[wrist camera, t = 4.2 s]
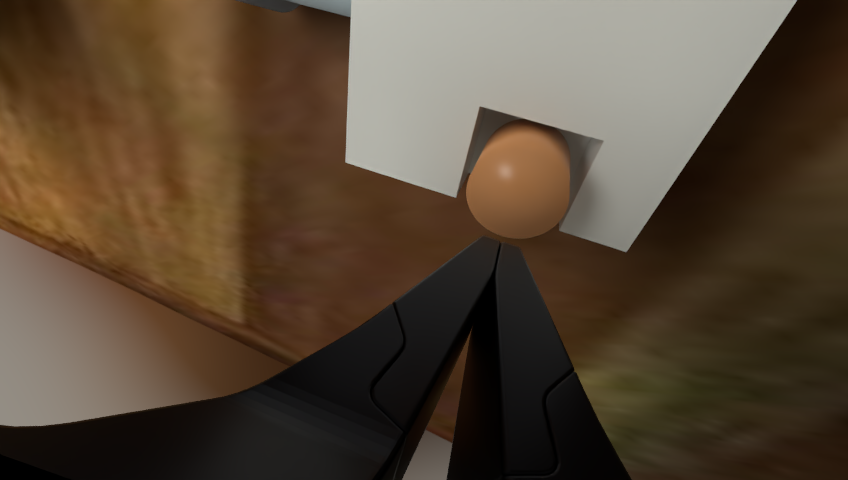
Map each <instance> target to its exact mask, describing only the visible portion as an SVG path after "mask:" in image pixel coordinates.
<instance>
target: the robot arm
mask: <svg viewBox="0 0 848 480" xmlns="http://www.w3.org/2000/svg"><path fill="white" fill-rule="evenodd" d="M472 326H473V327H472ZM471 329H472V331H471ZM470 331H471V335H470V340H469V346H468V352H467V358H466V364H465V370H464V376H463V382H462V389H461V395H460V401H459V407H458V413H457V419H456V425H455V431H454V437H453V443H452V450H451V456H450V462H449V468H448V474H447V480H632V479H631V478H630V476H629V474H628V472H627V471H626V469H625V467H624V465H623V464H622V462H621V460H620V458H619V457H618V455H617V453H616V451H615V449H614V448H613V446H612V444H611V442H610V440H609V438H608V437H607V435H606V433H605V431H604V429H603V427H602V425H601V424H600V422H599V420H598V418H597V416H596V414H595V412H594V410H593V408H592V406H591V403H590V401H589V399H588V397H587V395H586V393H585V391H584V389H583V387H582V384H581V382H580V380H579V378H578V376H577V373H576V372H573V371H574V367H573V365H572V363H571V360H570V358H569V356H568V354H567V351H566V349H565V347H564V345H563V343H562V340H561V338H560V336H559V334H558V331H557V329H556V327H555V325H554V322H553V320H552V318H551V316H550V314H549V311H548V309H547V307H546V305H545V302H544V300H543V298H542V296H541V294H540V291H539V289H538V287H537V285H536V282H535V280H534V278H533V276H532V274H531V271H530V269H529V267H528V265H527V262H526V260H525V258H524V256H523V253H522V251H521V249H520V248H519V247H518V246H516V245H513V244H509V243H506V242H501V243H500V241H499V240H497V239H494V238H491V237H488V236H485V235H483V236H481V237H480V238H478V239H477V240H476V241H474V242H473V243H472V244H470V245H469V246H468V247H466V248H465V249H464V250H462V251H461V252H460V253H458V254H457V255H456V256H454V257H453V258H452V259H450V260H449V261H448V262H446V263H445V264H444V265H442V266H441V267H440V268H438V269H437V270H436V271H434V272H433V273H432V274H430V275H429V276H428V277H426V278H425V279H424V280H422V281H421V282H420V283H418V284H417V285H416V286H414V287H413V288H412V289H410V290H409V291H408V292H406V293H405V294H403V295H402V296H401V297H399V298H398V299H397V300H395V301H394V302H393V303H392V304H390V305H389V306H387V307H386V308H385V309H383V310H382V311H381V312H379V313H378V314H377V315H375V316H374V317H372V318H371V319H369V320H368V321H366V322H365V323H364V324H362V325H361V326H359V327H358V328H356V329H355V330H353V331H351V332H349V333H348V334H346V335H344V336H343V337H341V338H339V339H338V340H336V341H334V342H333V343H331V344H329V345H327V346H326V347H324V348H322V349H320V350H319V351H317V352H315V353H313V354H312V355H310V356H308V357H306V358H304V359H303V360H301V361H299V362H297V363H296V364H294V365H292V366H290V367H288V368H287V369H285V370H283V371H282V372H280V373H278V374H276V375H274V376H273V377H271V378H269V379H267V380H265V381H264V382H261V383H259V384H257V385H255V386H253V387H250V388H248V389H245V390H243V391H240V392H238V393H234V394H231V395H228V396H224V397H219V398H213V399H207V400H201V401H195V402H189V403H184V404H178V405H172V406H166V407H160V408H154V409H148V410H143V411H136V412H130V413H125V414H118V415H112V416H106V417H100V418H95V419H89V420H83V421H77V422H71V423H63V424H55V425H46V426H19V427H14V426H4V425H0V480H402V478H403V476H404V474H405V472H406V470H407V468H408V466H409V463H410V461H411V459H412V457H413V455H414V453H415V451H416V448H417V446H418V444H419V442H420V440H421V438H422V435H423V433H424V431H425V429H426V427H427V425H428V423H429V420H430V418H431V416H432V414H433V412H434V410H435V407H436V405H437V403H438V401H439V399H440V397H441V395H442V392H443V390H444V388H445V386H446V384H447V382H448V379H449V377H450V375H451V373H452V371H453V369H454V367H455V364H456V362H457V360H458V358H459V356H460V354H461V351H462V349H463V347H464V345H465V343H466V341H467V338H468V336H469V334H470Z"/></svg>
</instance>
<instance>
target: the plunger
mask: <svg viewBox="0 0 848 480" xmlns="http://www.w3.org/2000/svg"><path fill="white" fill-rule="evenodd" d="M466 196H467V202H468V206H469V208H470V210H471V212H472V214H473V216H474V217H475V218H476V220H477V221H478V222H479V223H480V224H481V225H482V226H484V227H485V228H486V229H488V230H489V231H491V232H493V233H495V234H498V235H500V236H504V237H508V238H515V239H524V238H531V237H535V236H538V235H541V234H543V233H545V232H547V231H549V230H550V229H552V228H553V227H554V226H555V225H557V224H558V223H559V221H560V220H561V219H562V218H563V216H564V214H565V213H566V210H567V208H568V204H569V197H570V150H569V146H568V144H567V141H566V139H565V138H564V136H563V135H562V134H561V132H560V131H558V130H557V129H556V128H555V127H552V126H549V125H545V124H542V123H538V122H535V121H531V120H527V119H517V120H513V121H510V122H508V123H506V124H504V125H502V126H501V127H499V128H498V129H497V130H496V131H495V132H494V133H493V134H492V135H491V136H490V138H489V139H488V141H487V143H486V145H485V147H484V149H483V151H482V153H481V155H480V157H479V159H478V161H477V163H476V165H475V167H474V169H473V171H472V173H471V175H470V177H469V180H468V183H467V188H466Z"/></svg>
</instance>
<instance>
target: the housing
mask: <svg viewBox="0 0 848 480" xmlns="http://www.w3.org/2000/svg"><path fill="white" fill-rule="evenodd" d="M796 1H797V0H351V25H350V53H349V80H348V108H347V135H346V163H349V164H352V165H355V166H358V167H361V168H364V169H368V170H371V171H374V172H377V173H380V174H383V175H386V176H390V177H393V178H396V179H399V180H402V181H405V182H408V183H411V184H415V185H418V186H421V187H424V188H427V189H430V190H433V191H436V192H440V193H443V194H446V195H449V196H452V197H455V198H456V196H457V194H458V193H459V191H460V189H461V187H462V185H463V183H464V181H465V179H466V177H467V175H468V173H470V174H471V173H472V171H473V169H474V167H475V165H476V163H477V161H478V159H479V157H480V155H481V153H482V151H483V149H484V147H485V145H486V143H487V141H488V139H489V138H490V136H491V135H492V134H493V133H494V132H495V131H496V130H497V129H498V128H499V127H501V126H502V125H504V124H506V123H508V122H510V121H513V120H517V119H527V120H531V121H535V122H538V123H542V124H545V125H549V126H552V127H555V128H556V129H557V130H558V131H560V132H561V134H562V135H563V136H564V138H565V139H566V141H567V144H568V146H569V150H570V197H569V204H568V208H567V210H566V213H565V214H564V216H563V218H562V219H561V220H560V223H559V231H562V232H565V233H568V234H571V235H574V236H577V237H580V238H584V239H587V240H590V241H593V242H596V243H599V244H602V245H606V246H609V247H612V248H615V249H618V250H621V251H624V252H627V251H628V249H629V248H630V246H631V245H632V243H633V242H634V240H635V239H636V237H637V236H638V234H639V233H640V231H641V230H642V228H643V227H644V226H645V224H646V223H647V221H648V220H649V218H650V217H651V215H652V214H653V212H654V211H655V209H656V208H657V206H658V205H659V203H660V202H661V200H662V199H663V197H664V196H665V195H666V193H667V192H668V190H669V189H670V187H671V186H672V184H673V183H674V181H675V180H676V178H677V177H678V175H679V174H680V172H681V171H682V169H683V168H684V167H685V165H686V164H687V162H688V161H689V159H690V158H691V156H692V155H693V153H694V152H695V150H696V149H697V147H698V146H699V144H700V143H701V141H702V140H703V138H704V137H705V136H706V134H707V133H708V131H709V130H710V128H711V127H712V125H713V124H714V122H715V121H716V119H717V118H718V116H719V115H720V113H721V112H722V110H723V109H724V108H725V106H726V105H727V103H728V102H729V100H730V99H731V97H732V96H733V94H734V93H735V91H736V90H737V88H738V87H739V85H740V84H741V82H742V81H743V79H744V78H745V77H746V75H747V74H748V72H749V71H750V69H751V68H752V66H753V65H754V63H755V62H756V60H757V59H758V57H759V56H760V54H761V53H762V51H763V50H764V49H765V47H766V46H767V44H768V43H769V41H770V40H771V38H772V37H773V35H774V34H775V32H776V31H777V29H778V28H779V26H780V25H781V23H782V22H783V20H784V19H785V18H786V16H787V15H788V13H789V12H790V10H791V9H792V7H793V6H794V4H795V3H796Z"/></svg>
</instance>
